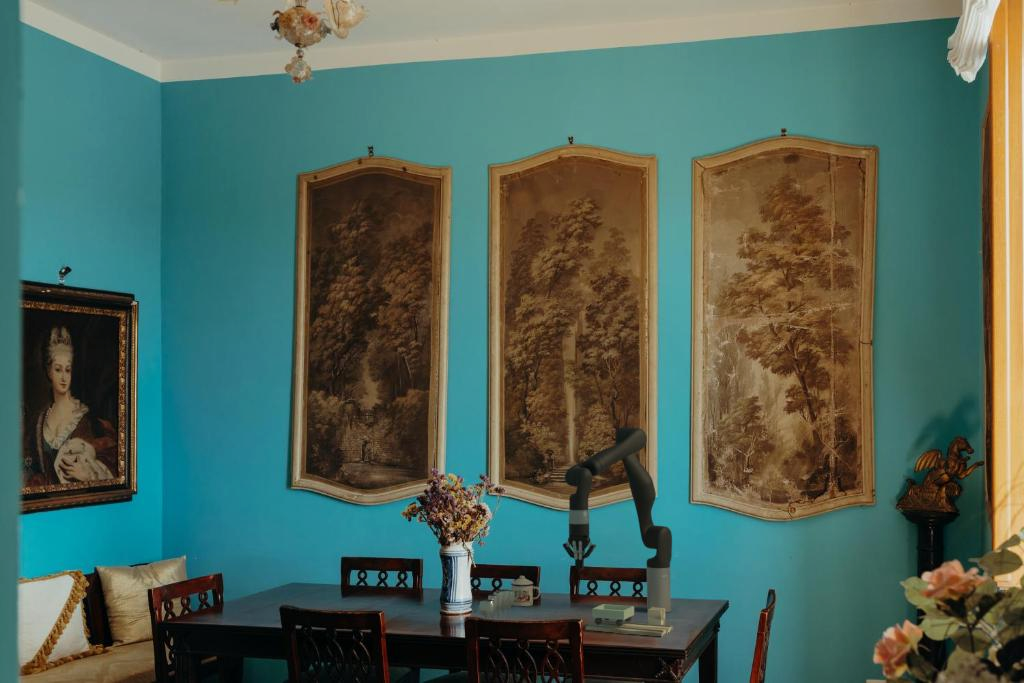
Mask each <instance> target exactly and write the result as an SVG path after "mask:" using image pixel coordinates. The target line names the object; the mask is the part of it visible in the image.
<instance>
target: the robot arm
mask: <svg viewBox="0 0 1024 683" xmlns="http://www.w3.org/2000/svg"><path fill="white" fill-rule="evenodd" d="M647 437H648V436H647V434H646V432H645V430H644V429H642V428H639V427H629V426H628V427H627V426H626V427H625V426H624V427H623V426H622V427H619V428H618V429H617V430H616V432H615V444H614V445H612V446H610V447H606V448H604V449H601V450H599V451H598V452H596V453H594V454H593V455H591V456H590V457H588V458H587V459H586V460H583V461H581V462H579V463H576V464H574V465H572V466H570V467H569V468H568V469H567V470H566V472H565V473H564V474H565V475H564V481H565V483H566V484H567V485H568V486H570V487H575V488H576V491H575V492H574V493H571V494H570V495H569V501H568V503H569V504H568V505H569V508H568V509H569V511H568V538H567V541H566V542H565V543H563V544H562V548H563V549H564V550H565V552H566V553H567V554H568V555H569V557H570V558H572V559H574V564H575V566H574V568H575V569H576V570H577V571H582V570H583V569H584V567H585V566H584V565H585V564H584V563H585V559H587V558H589V557H590V555H591V554H592V553H593V551H594V550H595V549H596V547H597V544H596V543H593V542H592V541H591V538H590V513H589V497H590V493H591V489H592V485H593V477H596V476H599V475H600V474H601V473H603V472H604V471H606V470H607V469H608V468H610V467H612V465H615V464H616V463H618V462H619V461H622V465H623V466H624V471H625V474H626V476H627V481H628V483H629V488H630V492H631V496H632V499H633V503H634V506H635V511H636V515H637V519H638V520H637V521H638V526H639V531H640V536H641V537H640V538H641V541H642V543H643V546H644V547H645V548H647V549H649V550H650V549H651V550H655V551H656V552H655V555H654V556H653V557H650V558H647V560H646V611H647V612H648V609H650V608H652V607H653V608H665V614H666V613H671V611H672V606H671V602H672V598H671V562H672V553H673V552H672V551H673V534H672V531H671V529H670V528H669V527H668V526H666V525H665V526H663V525H655V524H654V520H653V516H652V511H653V507H654V503H655V500H656V496H657V493H656V489H655V485H654V481H653V478H652V476H651V475H650V473H649V472H648V470H647V469H646V468H645V467H644V465H643V464H642V463H641V462H640V460H639V459H638V456H637V454H636V453H638V452H640V451H642V450H643V449H644V448H645V446H646V445H647V442H648V438H647ZM587 548H588V549H587ZM586 549H587V550H586Z"/></svg>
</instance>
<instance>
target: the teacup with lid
mask: <svg viewBox="0 0 1024 683" xmlns="http://www.w3.org/2000/svg"><path fill="white" fill-rule="evenodd" d="M510 585H511V590H513V591H514V594H515V599H514V602H513V604H512V606H514V607H519V606H526V607H530V606H531V607H532V606H533V605H534V603H533V602H534V600H537V599H538V598H539V597H540V595H541V589H540V588H539V587H538V586H534V582H533V581H531V580H529V579H527V578H526V577H525V575H519V578H517V579H515V580H513V581H511V583H510ZM533 589H536V590H537V591H538V594H537V596H533V595H534V593H533V592H534V590H533Z"/></svg>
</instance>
